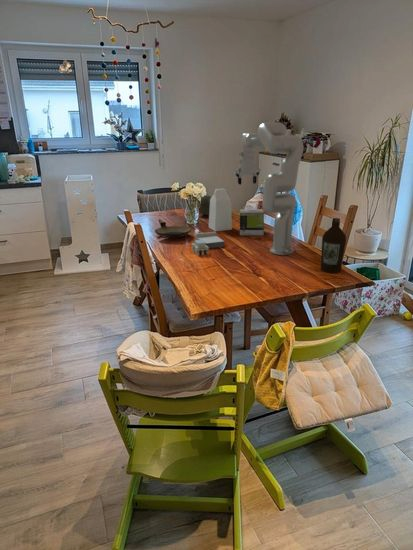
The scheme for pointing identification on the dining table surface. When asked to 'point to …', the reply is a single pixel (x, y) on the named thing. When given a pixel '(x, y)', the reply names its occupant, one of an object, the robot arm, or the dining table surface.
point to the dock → (211, 239)
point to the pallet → (200, 249)
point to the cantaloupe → (205, 205)
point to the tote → (200, 243)
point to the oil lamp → (171, 230)
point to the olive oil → (333, 248)
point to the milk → (220, 211)
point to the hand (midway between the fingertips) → (247, 183)
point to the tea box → (251, 222)
